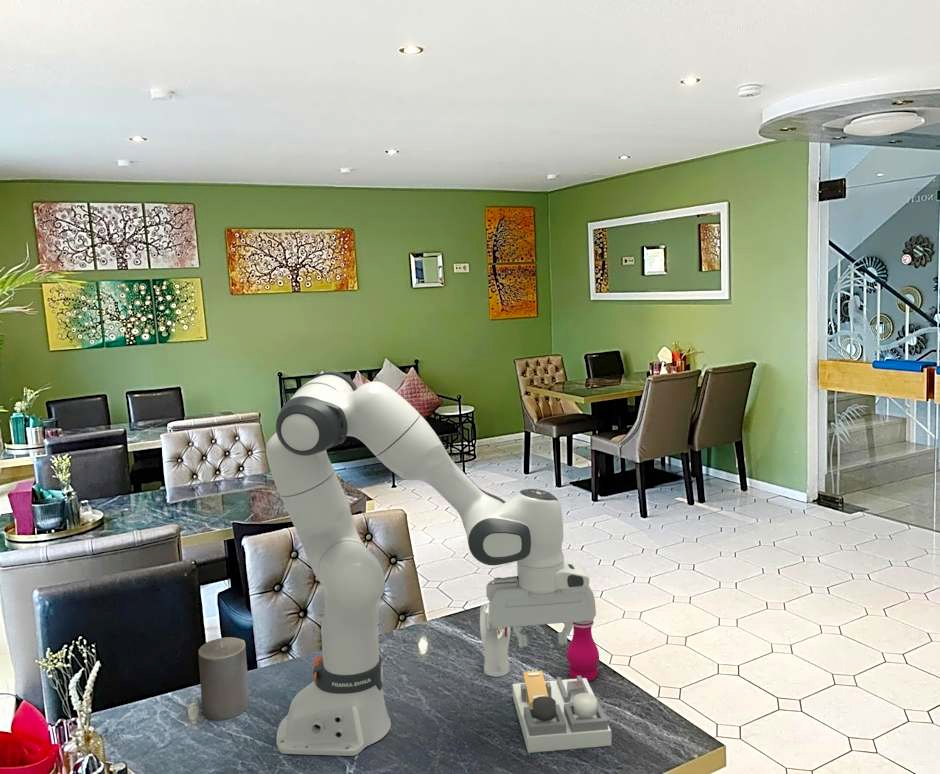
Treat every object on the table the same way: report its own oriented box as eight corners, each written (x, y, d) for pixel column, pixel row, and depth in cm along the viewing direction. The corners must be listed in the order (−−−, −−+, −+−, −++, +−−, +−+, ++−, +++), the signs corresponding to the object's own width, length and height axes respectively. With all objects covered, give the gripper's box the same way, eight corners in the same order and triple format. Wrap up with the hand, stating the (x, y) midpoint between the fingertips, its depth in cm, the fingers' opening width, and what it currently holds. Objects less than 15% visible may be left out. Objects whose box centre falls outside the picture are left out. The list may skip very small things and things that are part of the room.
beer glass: (517, 667, 176) (515, 605, 174) (502, 680, 170) (500, 616, 168) (491, 660, 179) (489, 599, 178) (475, 673, 174) (473, 610, 172)
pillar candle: (194, 709, 163) (188, 643, 161) (235, 690, 170) (230, 627, 168) (217, 726, 156) (211, 657, 154) (259, 706, 163) (254, 640, 161)
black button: (535, 721, 144) (534, 709, 144) (531, 709, 149) (531, 697, 149) (558, 719, 145) (557, 707, 145) (553, 707, 149) (553, 695, 149)
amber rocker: (529, 706, 153) (529, 701, 152) (523, 676, 160) (523, 670, 159) (549, 705, 153) (549, 699, 152) (542, 674, 160) (542, 669, 160)
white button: (576, 718, 145) (576, 706, 145) (571, 705, 150) (571, 693, 149) (599, 716, 146) (599, 704, 145) (593, 704, 150) (593, 692, 150)
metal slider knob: (570, 703, 154) (570, 689, 154) (567, 695, 157) (567, 681, 157) (585, 701, 154) (584, 687, 154) (581, 694, 157) (581, 680, 157)
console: (528, 752, 143) (527, 723, 142) (512, 697, 163) (512, 671, 162) (611, 745, 145) (611, 716, 144) (586, 691, 164) (585, 665, 164)
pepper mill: (598, 684, 167) (597, 596, 165) (565, 681, 169) (563, 595, 166) (600, 667, 174) (598, 584, 172) (568, 665, 176) (566, 582, 173)
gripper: (487, 584, 139) (490, 656, 141) (597, 577, 141) (598, 647, 143) (484, 572, 146) (486, 641, 147) (589, 565, 147) (590, 633, 149)
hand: (542, 644), depth 145 cm, fingers open, 6 cm apart
